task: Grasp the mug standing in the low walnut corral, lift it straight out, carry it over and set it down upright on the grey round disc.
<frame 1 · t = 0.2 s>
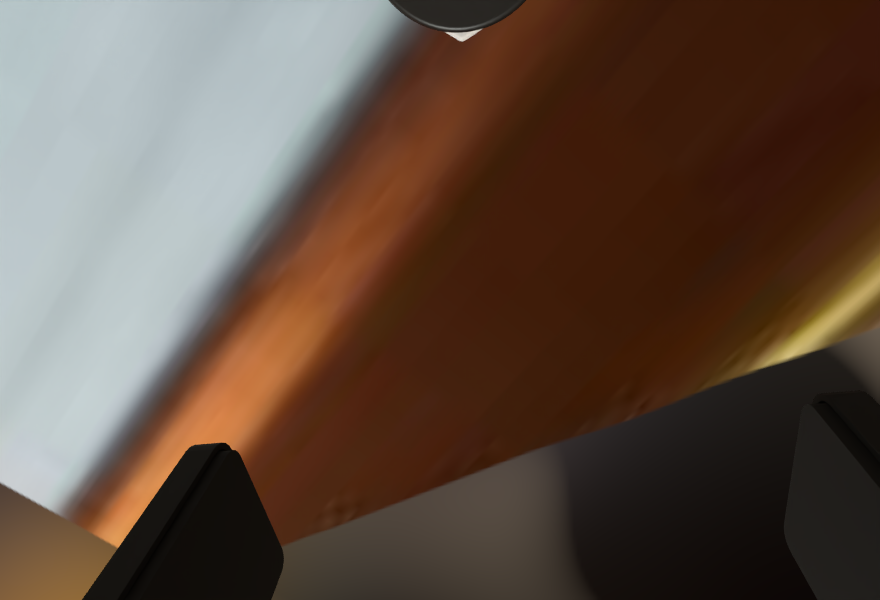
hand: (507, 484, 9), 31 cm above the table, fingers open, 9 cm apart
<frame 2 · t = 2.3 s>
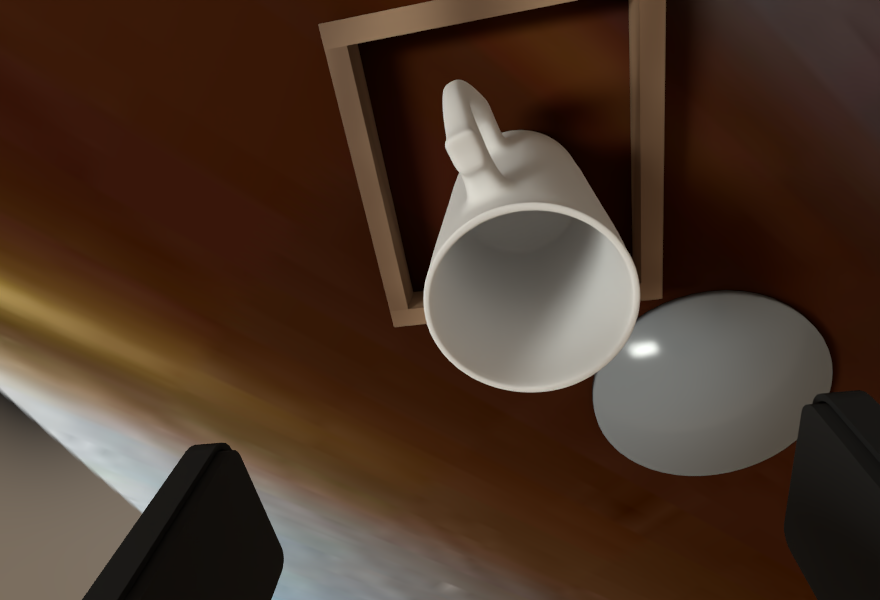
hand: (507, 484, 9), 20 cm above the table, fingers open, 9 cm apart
corral: (505, 162, 27), on the table
grey round disc: (705, 388, 32), on the table
mug: (505, 161, 27), resting in corral
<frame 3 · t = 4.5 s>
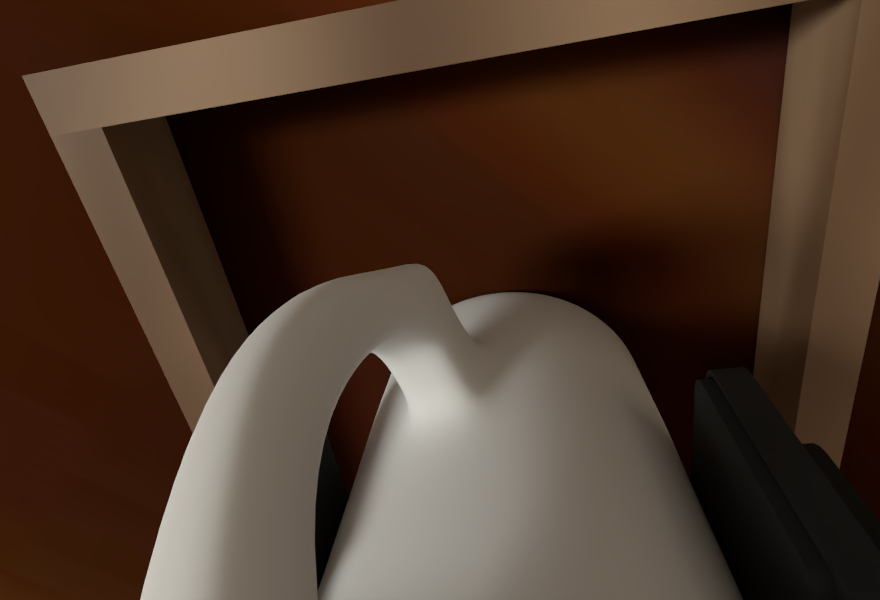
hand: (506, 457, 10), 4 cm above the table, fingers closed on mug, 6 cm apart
corral: (493, 347, 13), on the table
mug: (487, 343, 13), resting in corral, touching gripper
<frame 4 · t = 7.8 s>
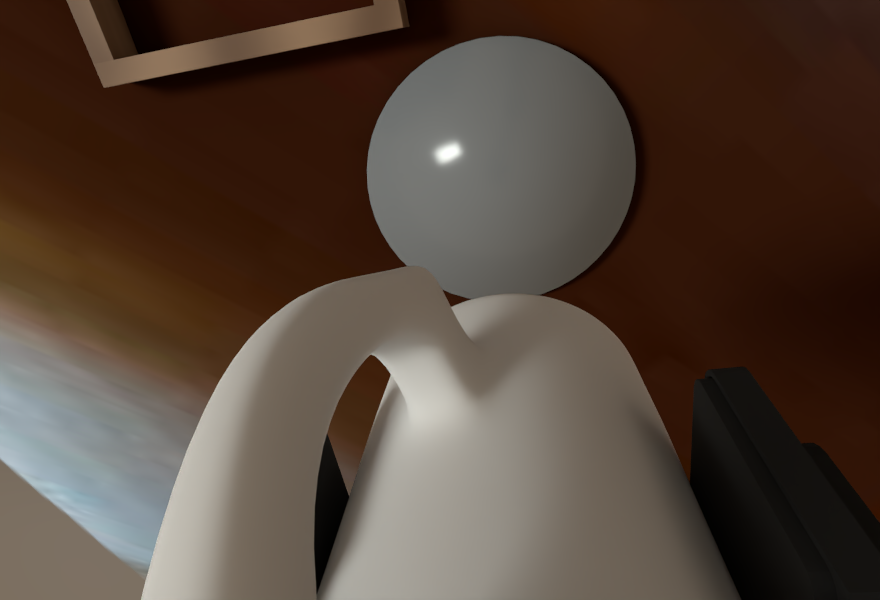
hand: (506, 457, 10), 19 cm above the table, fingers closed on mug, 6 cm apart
grey round disc: (498, 180, 27), on the table
mug: (486, 344, 13), point 16 cm above the table, touching gripper
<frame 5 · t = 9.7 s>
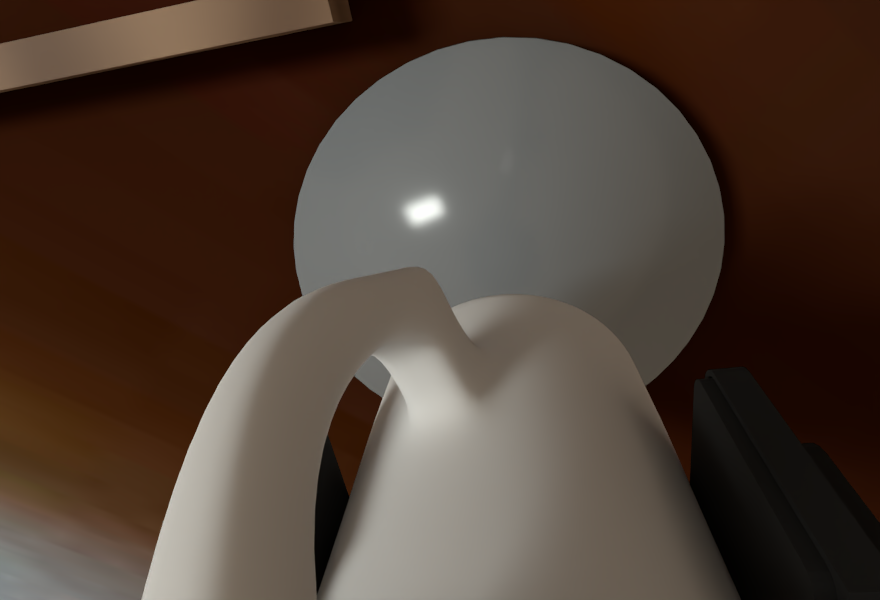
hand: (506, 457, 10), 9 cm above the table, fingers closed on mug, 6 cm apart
grey round disc: (500, 263, 17), on the table
mug: (487, 345, 13), point 5 cm above the table, touching gripper
when the fingers open (5 cm above the table, at t = 11.3 s): mug drops 1 cm, resting on grey round disc.
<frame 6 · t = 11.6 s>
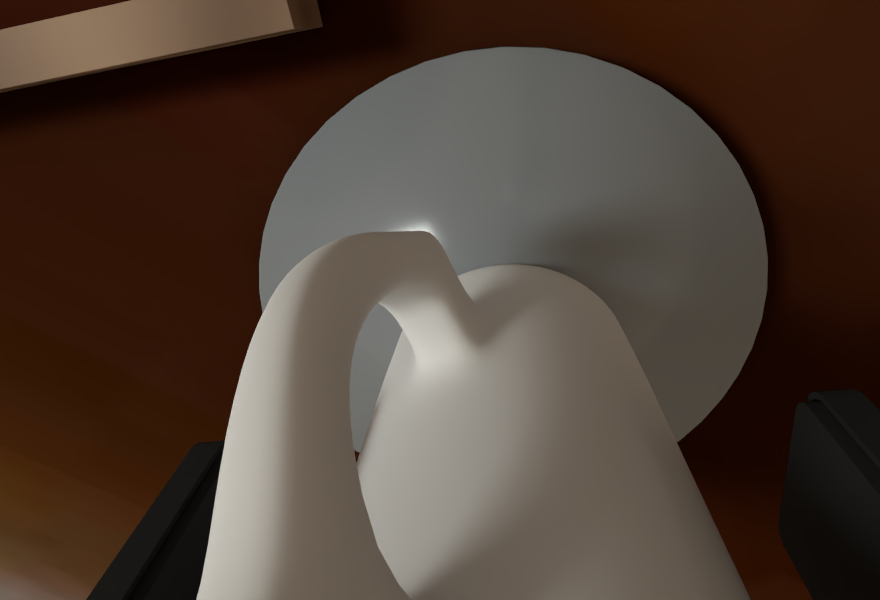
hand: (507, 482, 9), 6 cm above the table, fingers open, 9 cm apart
grey round disc: (501, 308, 15), on the table
mug: (486, 313, 14), resting on grey round disc
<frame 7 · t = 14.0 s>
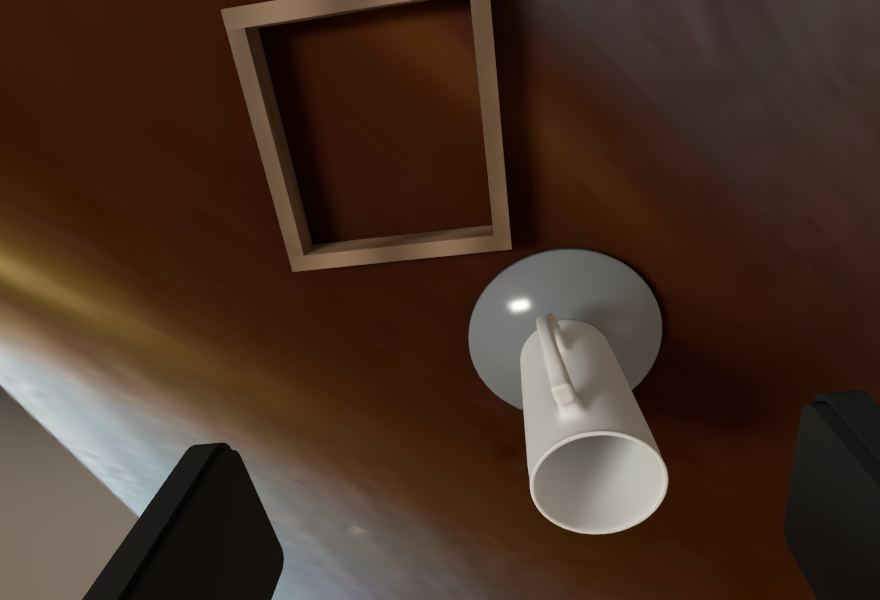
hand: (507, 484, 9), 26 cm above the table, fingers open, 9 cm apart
corral: (383, 132, 33), on the table
grey round disc: (562, 335, 38), on the table
mug: (557, 337, 37), resting on grey round disc
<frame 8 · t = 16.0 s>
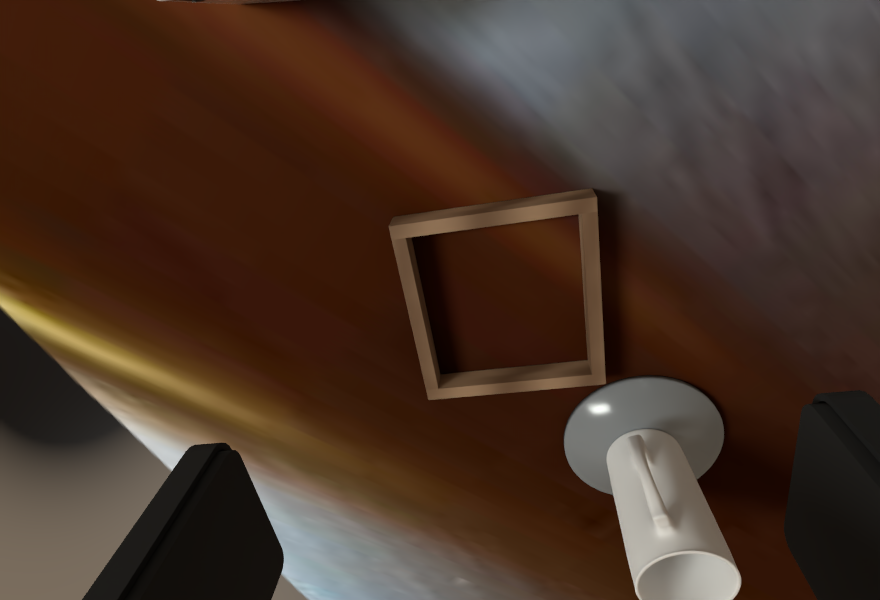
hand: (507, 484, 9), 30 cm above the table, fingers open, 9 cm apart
corral: (502, 297, 42), on the table
grey round disc: (640, 437, 47), on the table
mug: (637, 440, 46), resting on grey round disc
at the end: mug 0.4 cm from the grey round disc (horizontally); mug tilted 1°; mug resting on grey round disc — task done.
